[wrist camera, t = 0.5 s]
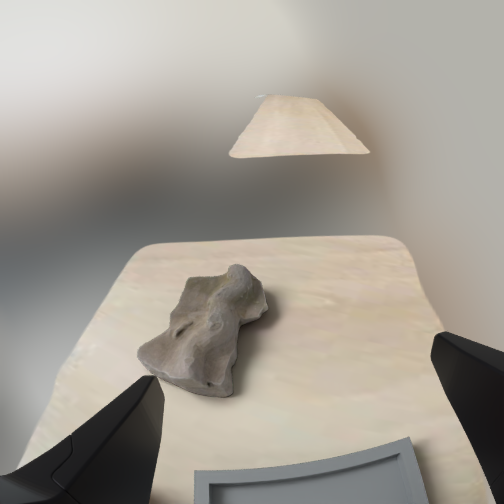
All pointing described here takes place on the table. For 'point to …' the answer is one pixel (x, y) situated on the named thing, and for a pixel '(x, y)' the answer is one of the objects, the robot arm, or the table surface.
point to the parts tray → (322, 480)
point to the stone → (206, 332)
